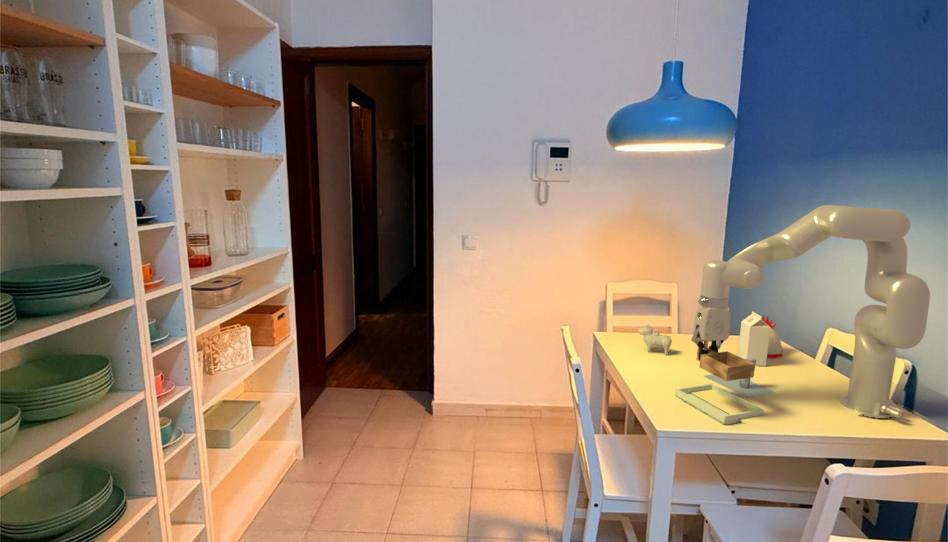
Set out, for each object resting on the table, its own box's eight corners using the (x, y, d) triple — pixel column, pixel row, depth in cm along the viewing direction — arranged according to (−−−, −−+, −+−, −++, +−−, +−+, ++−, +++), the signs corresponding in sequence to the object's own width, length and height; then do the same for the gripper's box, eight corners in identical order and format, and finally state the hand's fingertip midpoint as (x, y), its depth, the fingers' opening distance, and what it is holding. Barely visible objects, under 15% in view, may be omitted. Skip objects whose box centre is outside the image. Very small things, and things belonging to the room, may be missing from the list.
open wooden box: (753, 377, 138) (755, 364, 137) (726, 381, 135) (727, 367, 134) (712, 357, 152) (714, 345, 151) (687, 360, 149) (688, 348, 148)
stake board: (775, 395, 153) (776, 392, 153) (746, 400, 149) (746, 397, 149) (729, 374, 170) (730, 371, 169) (702, 378, 166) (702, 375, 166)
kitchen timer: (748, 344, 202) (752, 309, 200) (786, 352, 192) (790, 316, 190) (736, 351, 193) (740, 315, 191) (774, 361, 183) (779, 323, 181)
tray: (762, 417, 138) (763, 409, 138) (723, 425, 134) (724, 416, 133) (711, 390, 156) (711, 383, 156) (675, 396, 152) (675, 389, 151)
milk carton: (756, 359, 184) (762, 311, 181) (765, 366, 177) (771, 316, 174) (737, 359, 185) (742, 311, 181) (745, 365, 178) (751, 316, 175)
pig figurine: (638, 347, 198) (640, 322, 196) (671, 352, 192) (673, 326, 190) (635, 350, 193) (637, 325, 191) (669, 356, 187) (671, 330, 185)
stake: (755, 387, 156) (758, 360, 155) (740, 389, 155) (743, 362, 153) (747, 383, 159) (750, 357, 158) (733, 386, 157) (736, 359, 156)
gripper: (701, 307, 138) (695, 367, 141) (745, 303, 143) (738, 362, 146) (682, 300, 145) (676, 359, 148) (725, 297, 150) (718, 354, 153)
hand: (707, 360), depth 147 cm, fingers closed on open wooden box, 3 cm apart
